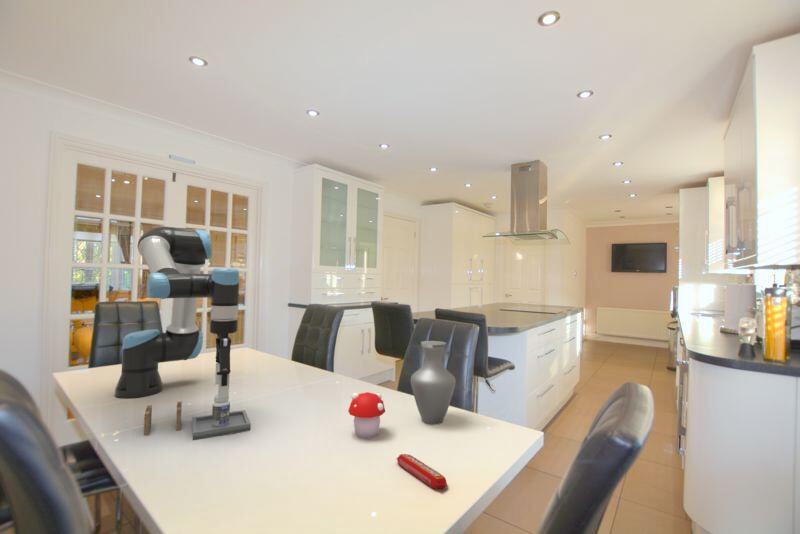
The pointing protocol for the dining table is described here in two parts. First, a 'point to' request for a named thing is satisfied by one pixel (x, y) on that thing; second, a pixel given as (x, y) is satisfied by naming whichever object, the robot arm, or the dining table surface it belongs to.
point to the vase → (433, 384)
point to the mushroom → (366, 413)
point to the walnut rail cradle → (149, 415)
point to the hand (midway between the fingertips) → (221, 390)
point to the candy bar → (422, 471)
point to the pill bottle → (220, 411)
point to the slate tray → (205, 428)
